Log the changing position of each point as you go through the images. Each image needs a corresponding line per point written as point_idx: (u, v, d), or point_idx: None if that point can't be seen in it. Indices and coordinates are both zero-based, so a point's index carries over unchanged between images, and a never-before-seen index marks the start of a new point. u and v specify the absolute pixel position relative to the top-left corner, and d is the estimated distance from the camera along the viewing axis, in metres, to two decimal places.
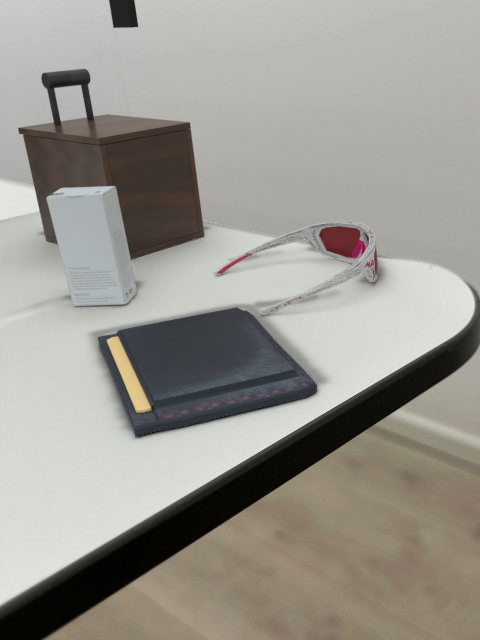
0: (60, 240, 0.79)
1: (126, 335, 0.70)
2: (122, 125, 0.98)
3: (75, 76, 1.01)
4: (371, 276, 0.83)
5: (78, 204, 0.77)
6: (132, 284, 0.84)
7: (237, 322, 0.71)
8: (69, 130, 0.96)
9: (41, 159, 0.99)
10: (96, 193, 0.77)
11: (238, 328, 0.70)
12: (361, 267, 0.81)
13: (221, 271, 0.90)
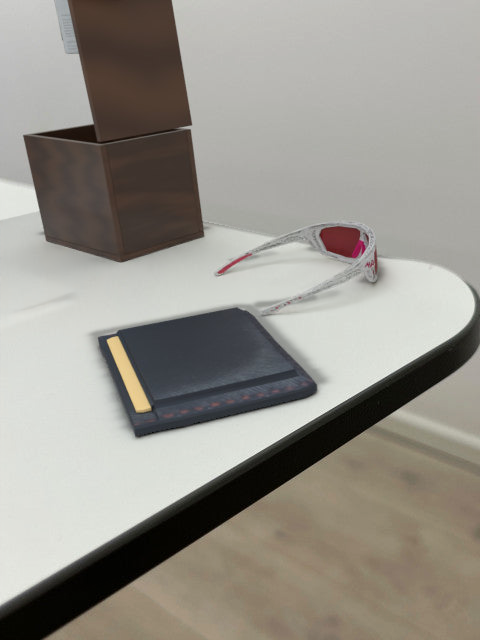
0: None
1: (126, 335, 0.70)
2: (145, 78, 0.92)
3: None
4: (371, 276, 0.83)
5: None
6: None
7: (237, 322, 0.71)
8: (97, 56, 0.87)
9: (41, 159, 0.99)
10: None
11: (238, 328, 0.70)
12: (361, 267, 0.81)
13: (221, 271, 0.90)
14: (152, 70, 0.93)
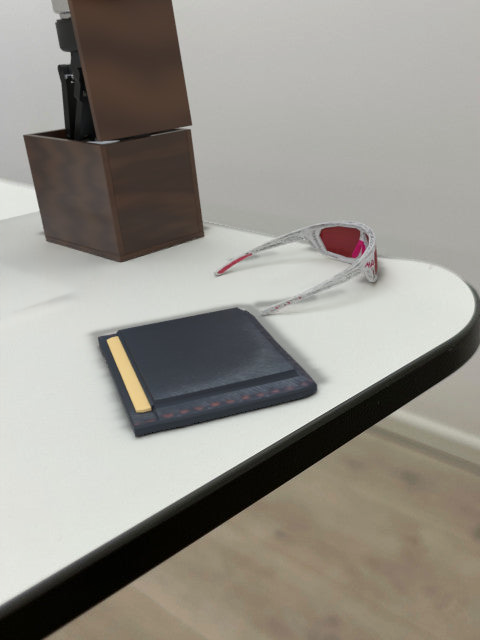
0: None
1: (126, 335, 0.70)
2: (145, 78, 0.92)
3: None
4: (371, 276, 0.83)
5: None
6: None
7: (237, 322, 0.71)
8: (97, 56, 0.87)
9: (41, 159, 0.99)
10: None
11: (238, 328, 0.70)
12: (361, 267, 0.81)
13: (221, 271, 0.90)
14: (152, 70, 0.93)
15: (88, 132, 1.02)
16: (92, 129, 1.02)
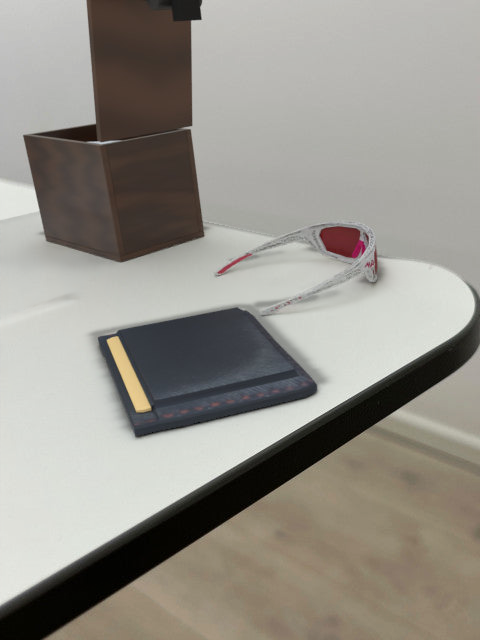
0: None
1: (126, 335, 0.70)
2: (153, 80, 0.91)
3: None
4: (371, 276, 0.83)
5: None
6: None
7: (237, 322, 0.71)
8: (109, 58, 0.86)
9: (41, 159, 0.99)
10: None
11: (238, 328, 0.70)
12: (361, 267, 0.81)
13: (221, 271, 0.90)
14: (161, 72, 0.92)
15: None
16: None
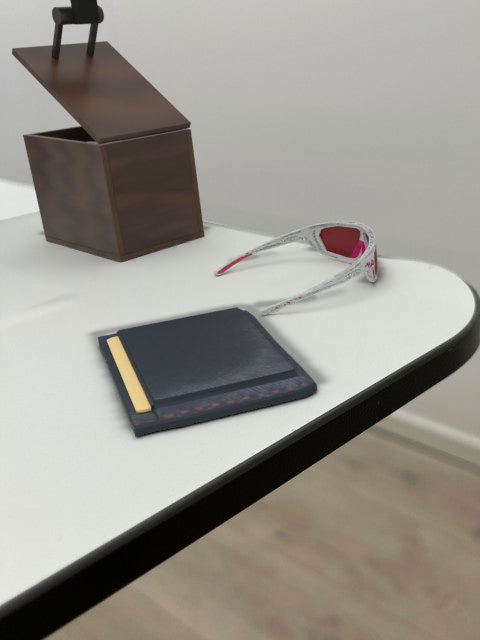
0: None
1: (126, 335, 0.70)
2: (123, 99, 0.96)
3: None
4: (371, 276, 0.83)
5: None
6: None
7: (237, 322, 0.71)
8: (68, 90, 0.93)
9: (41, 159, 0.99)
10: None
11: (238, 328, 0.70)
12: (361, 267, 0.81)
13: (221, 271, 0.90)
14: (128, 94, 0.97)
15: None
16: None
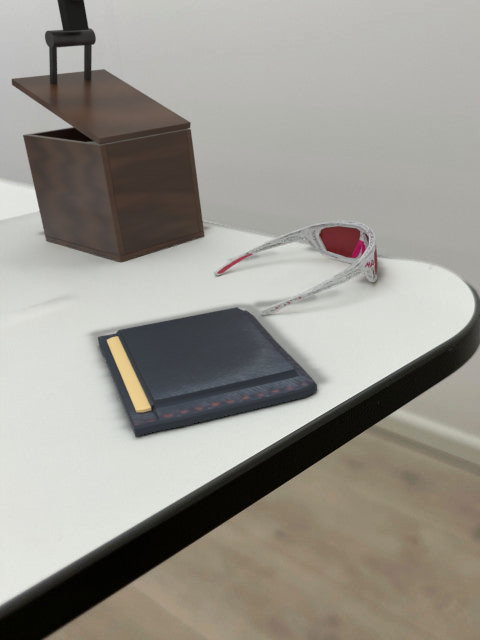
0: None
1: (126, 335, 0.70)
2: (122, 109, 0.97)
3: (80, 38, 0.97)
4: (371, 276, 0.83)
5: None
6: None
7: (237, 322, 0.71)
8: (67, 105, 0.94)
9: (41, 159, 0.99)
10: None
11: (238, 328, 0.70)
12: (361, 267, 0.81)
13: (221, 271, 0.90)
14: (126, 105, 0.98)
15: None
16: None
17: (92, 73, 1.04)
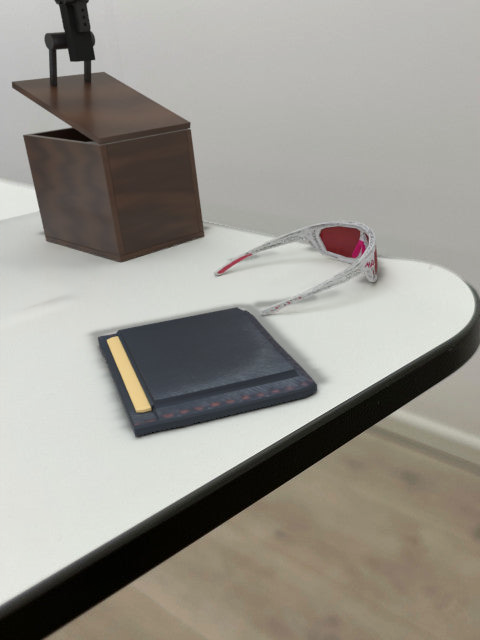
0: None
1: (126, 335, 0.70)
2: (121, 109, 0.97)
3: None
4: (371, 276, 0.83)
5: None
6: None
7: (237, 322, 0.71)
8: (67, 107, 0.94)
9: (41, 159, 0.99)
10: None
11: (238, 328, 0.70)
12: (361, 267, 0.81)
13: (221, 271, 0.90)
14: (126, 106, 0.98)
15: None
16: None
17: (92, 75, 1.04)
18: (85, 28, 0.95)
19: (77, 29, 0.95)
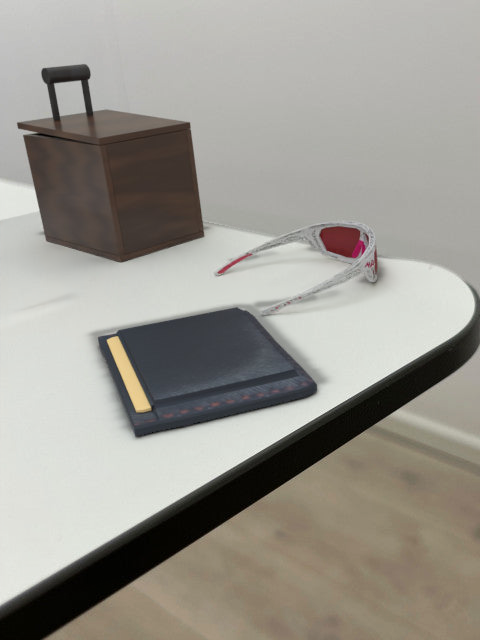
0: None
1: (126, 335, 0.70)
2: (122, 123, 0.98)
3: (75, 72, 1.01)
4: (371, 276, 0.83)
5: None
6: None
7: (237, 322, 0.71)
8: (69, 127, 0.96)
9: (41, 159, 0.99)
10: None
11: (238, 328, 0.70)
12: (361, 267, 0.81)
13: (221, 271, 0.90)
14: (127, 121, 1.00)
15: None
16: None
17: (94, 112, 1.07)
18: None
19: None
